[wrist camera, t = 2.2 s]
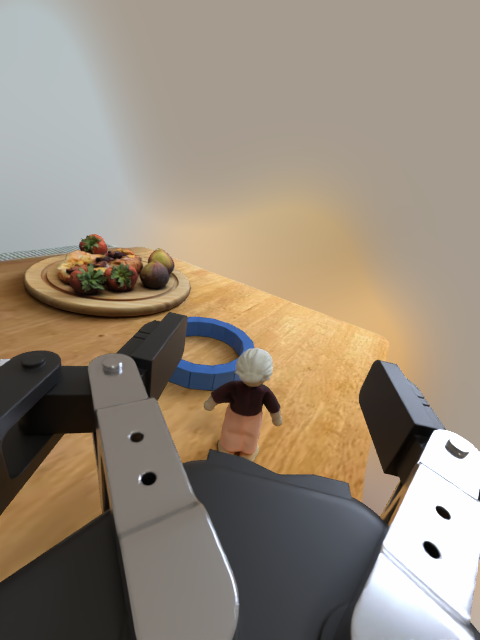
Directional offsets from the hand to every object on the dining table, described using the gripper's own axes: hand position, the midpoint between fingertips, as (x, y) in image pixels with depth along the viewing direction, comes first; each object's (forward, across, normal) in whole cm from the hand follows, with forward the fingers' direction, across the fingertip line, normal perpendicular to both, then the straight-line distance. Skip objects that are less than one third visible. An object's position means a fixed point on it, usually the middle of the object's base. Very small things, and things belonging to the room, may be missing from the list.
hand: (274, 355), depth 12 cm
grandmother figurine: (+11, 0, +20) cm, 23 cm away
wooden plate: (+45, +32, +20) cm, 59 cm away
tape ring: (+27, +8, +19) cm, 34 cm away
